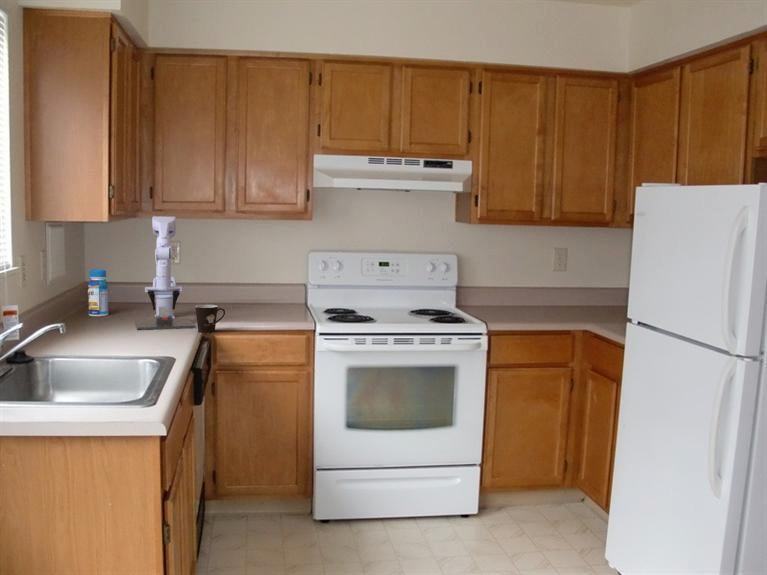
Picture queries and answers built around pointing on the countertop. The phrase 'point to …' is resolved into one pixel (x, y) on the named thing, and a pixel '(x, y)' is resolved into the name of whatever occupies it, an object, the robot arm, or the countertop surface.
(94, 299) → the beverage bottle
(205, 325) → the coffee mug
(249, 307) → the countertop surface
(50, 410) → the countertop surface
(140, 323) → the stand
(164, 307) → the silver metallic block
